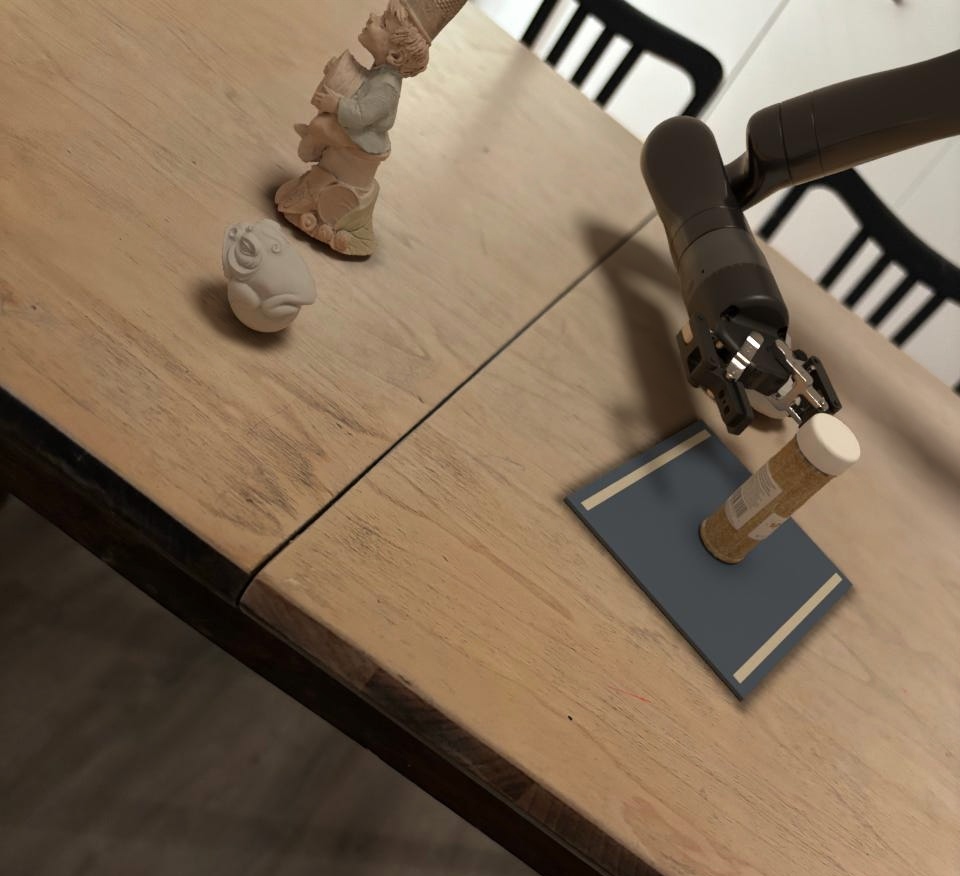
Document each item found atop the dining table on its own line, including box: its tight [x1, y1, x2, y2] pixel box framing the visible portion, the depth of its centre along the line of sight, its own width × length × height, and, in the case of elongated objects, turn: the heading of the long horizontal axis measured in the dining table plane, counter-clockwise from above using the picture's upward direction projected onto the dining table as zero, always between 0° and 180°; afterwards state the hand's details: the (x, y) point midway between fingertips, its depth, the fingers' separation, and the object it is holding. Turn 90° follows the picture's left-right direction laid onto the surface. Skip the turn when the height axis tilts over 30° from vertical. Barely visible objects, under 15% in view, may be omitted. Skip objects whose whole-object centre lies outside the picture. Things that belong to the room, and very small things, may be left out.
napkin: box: [563, 418, 853, 702], centre depth 80 cm, size 22×20×1 cm
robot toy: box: [719, 332, 809, 420], centre depth 96 cm, size 12×4×15 cm
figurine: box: [274, 0, 469, 256], centre depth 71 cm, size 9×8×20 cm
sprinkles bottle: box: [700, 413, 861, 563], centre depth 75 cm, size 5×5×13 cm
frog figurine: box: [221, 218, 318, 333], centre depth 66 cm, size 6×7×7 cm
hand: (784, 441), depth 75 cm, fingers open, 8 cm apart
